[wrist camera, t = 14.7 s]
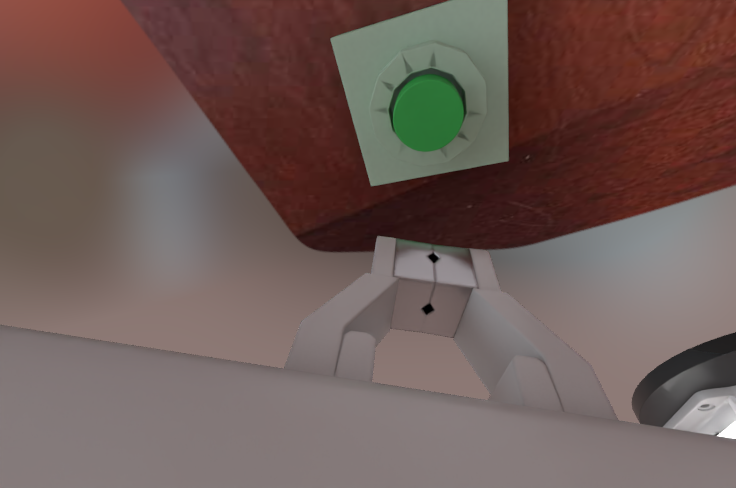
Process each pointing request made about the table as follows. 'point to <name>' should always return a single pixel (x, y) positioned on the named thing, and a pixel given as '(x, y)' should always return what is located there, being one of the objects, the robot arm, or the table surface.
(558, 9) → the table surface
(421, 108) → the button
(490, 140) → the block
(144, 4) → the table surface
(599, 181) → the table surface
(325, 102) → the table surface
